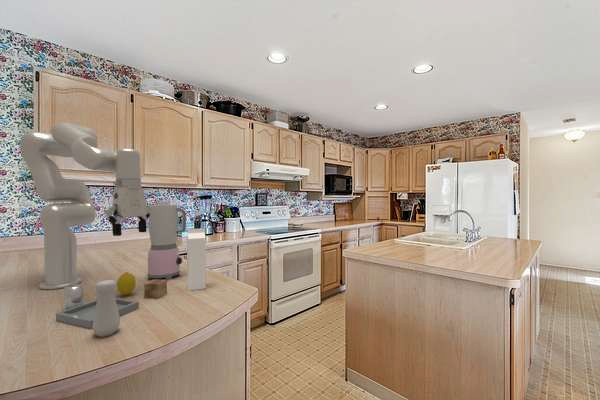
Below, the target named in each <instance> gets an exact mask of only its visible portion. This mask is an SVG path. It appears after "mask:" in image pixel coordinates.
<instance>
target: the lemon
mask: <svg viewBox="0 0 600 400" xmlns="http://www.w3.org/2000/svg"><path fill="white" fill-rule="evenodd" d="M136 285H137V280H136V278H135V275H134V274H132V273H131V272H128V271H127V272H124V273H123V274H121V275H120V276H118V279H117V281H116V288H117V289H116V290H117V291H118V292H119V293H121V294H123V295H125V296H128V295H129V294H131V293H132V292H133V291H134V290H135V288H136Z"/></svg>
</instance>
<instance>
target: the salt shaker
mask: <svg viewBox="0 0 600 400" xmlns="http://www.w3.org/2000/svg"><path fill="white" fill-rule="evenodd" d="M116 288H117V281H116V280H114V279H105V280H101V281H98V282H97V283H96V285H95V292H96V293H97V294H98V295H97V299H96V300H97V304H96V309H95V315H94V320H93V325H92V328H91V329H92V330H93V332H94V334H95V335H96V337H101V338H102V337H107V336H111V335H113V334H115V333H117V331H118V329H119V326H120V324H121V316H119V312H118V308H117V304H116V300H115V298H116V296H115V291H114V290H117V289H116Z"/></svg>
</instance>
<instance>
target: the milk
mask: <svg viewBox="0 0 600 400" xmlns="http://www.w3.org/2000/svg"><path fill="white" fill-rule="evenodd" d="M205 233H206V232H205V228H203V227H202V228H188V229H187V235H186V238H187V239H186V244H187V245H186V252H187V253H186V255H187V256H186V257H187V258H186V261H187V262H186V264H187V265H186V269H187V270H186V271H187V276H186V277H187V278H186V279H187V289H188V291H189V292H190V291H198V290H202V289H203V290H204V289H206V288H207V268H206V267H207V264H206V263H207V260H206V259H207V257H206V256H207V255H206V254H207V253H206V252H207V249H206V247H207V246H206V239H207V238H206V234H205Z"/></svg>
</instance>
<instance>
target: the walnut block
mask: <svg viewBox="0 0 600 400" xmlns="http://www.w3.org/2000/svg"><path fill="white" fill-rule="evenodd" d="M143 286H144V287H143V289H144V290H143V293H144V294H143V297H144V298H143V299H154V300H155V299H156V300H158V299H161V298H162V297H164V296H165V295H167V294H168V280H166V279H161V278H152V279H150V280H149V281H147V282H145V283H144V284H143Z"/></svg>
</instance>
